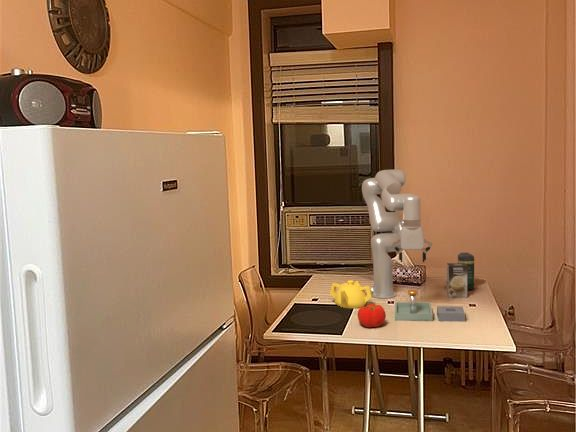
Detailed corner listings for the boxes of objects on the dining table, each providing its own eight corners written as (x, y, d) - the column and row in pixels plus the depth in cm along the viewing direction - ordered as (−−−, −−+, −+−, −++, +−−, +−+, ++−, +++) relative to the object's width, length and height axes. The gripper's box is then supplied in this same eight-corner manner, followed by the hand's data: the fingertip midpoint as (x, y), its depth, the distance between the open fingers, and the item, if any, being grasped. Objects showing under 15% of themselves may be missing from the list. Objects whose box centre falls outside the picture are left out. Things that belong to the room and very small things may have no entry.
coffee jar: (475, 290, 310) (475, 254, 308) (460, 290, 311) (459, 255, 308) (471, 285, 319) (471, 251, 317) (456, 286, 320) (456, 251, 318)
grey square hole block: (438, 321, 261) (438, 313, 261) (437, 313, 272) (436, 306, 271) (465, 321, 259) (464, 313, 259) (462, 314, 270) (462, 306, 269)
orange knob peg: (408, 314, 270) (407, 292, 269) (407, 311, 275) (407, 289, 274) (418, 314, 270) (417, 292, 268) (417, 311, 274) (417, 289, 273)
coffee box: (448, 297, 298) (448, 265, 296) (446, 294, 304) (446, 263, 302) (467, 297, 297) (467, 265, 295) (465, 294, 303) (465, 262, 301)
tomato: (366, 319, 268) (366, 300, 267) (391, 324, 260) (391, 304, 259) (350, 326, 258) (350, 307, 257) (375, 331, 250) (375, 311, 249)
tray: (394, 320, 264) (394, 313, 264) (395, 308, 283) (395, 302, 283) (432, 321, 262) (432, 314, 261) (430, 308, 280) (430, 302, 280)
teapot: (328, 302, 298) (327, 278, 296) (359, 298, 303) (359, 275, 301) (342, 311, 282) (341, 286, 280) (374, 307, 287) (374, 282, 285)
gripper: (392, 224, 265) (392, 263, 267) (432, 224, 262) (432, 263, 264) (392, 222, 273) (392, 259, 275) (431, 222, 269) (432, 259, 272)
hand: (412, 261), depth 269 cm, fingers open, 9 cm apart
